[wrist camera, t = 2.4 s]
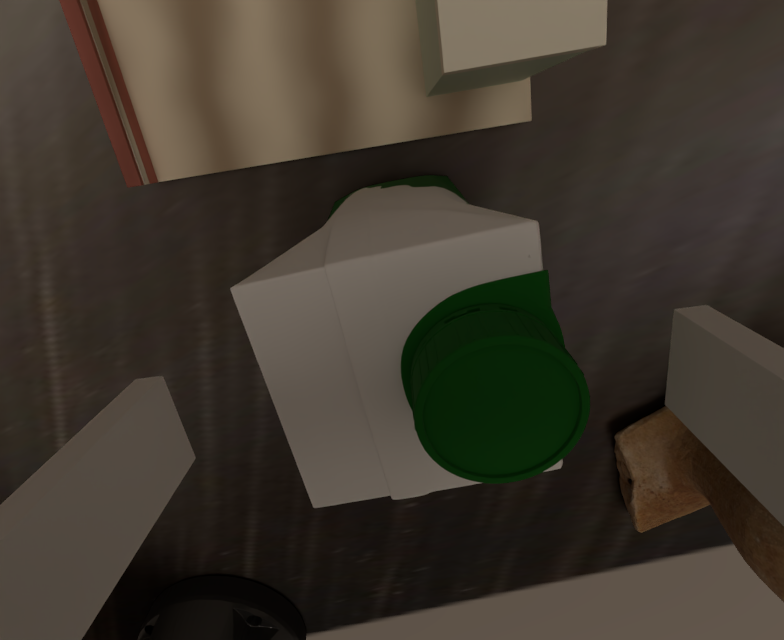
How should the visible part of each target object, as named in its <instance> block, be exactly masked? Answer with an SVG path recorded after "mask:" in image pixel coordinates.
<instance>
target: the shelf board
mask: <svg viewBox="0 0 784 640" xmlns="http://www.w3.org/2000/svg"><path fill="white" fill-rule="evenodd" d="M59 1H60V3H61V6H62V9H63V12H64V14H65V17H66V20H67V22H68V25H69V28H70V31H71V33H72V36H73V39H74V42H75V44H76V47H77V50H78V53H79V55H80V58H81V61H82V64H83V66H84V69H85V72H86V75H87V77H88V80H89V83H90V86H91V88H92V91H93V94H94V97H95V99H96V102H97V105H98V108H99V110H100V113H101V116H102V119H103V121H104V124H105V127H106V130H107V132H108V135H109V138H110V141H111V143H112V146H113V149H114V152H115V154H116V157H117V160H118V163H119V165H120V168H121V171H122V174H123V176H124V179H125V182H126V185H127V187H134V186H140V185H146V184H151V183H156V182H162V181H168V180H174V179H180V178H186V177H192V176H199V175H205V174H211V173H217V172H223V171H229V170H235V169H241V168H247V167H253V166H259V165H265V164H271V163H278V162H284V161H290V160H296V159H302V158H308V157H314V156H320V155H326V154H332V153H338V152H344V151H350V150H357V149H363V148H369V147H375V146H381V145H387V144H393V143H399V142H405V141H411V140H417V139H423V138H430V137H436V136H442V135H448V134H454V133H460V132H466V131H472V130H478V129H484V128H490V127H496V126H502V125H509V124H515V123H521V122H527V121H532V118H531V86H530V77H529V78H526V79H524V80H522V81H518V82H512V83H507V84H501V85H495V86H489V87H483V88H477V89H471V90H466V91H460V92H454V93H448V94H442V95H436V96H430V97H426V91H425V82H424V73H423V64H422V55H421V46H420V37H419V28H418V19H417V10H416V1H415V0H59Z"/></svg>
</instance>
